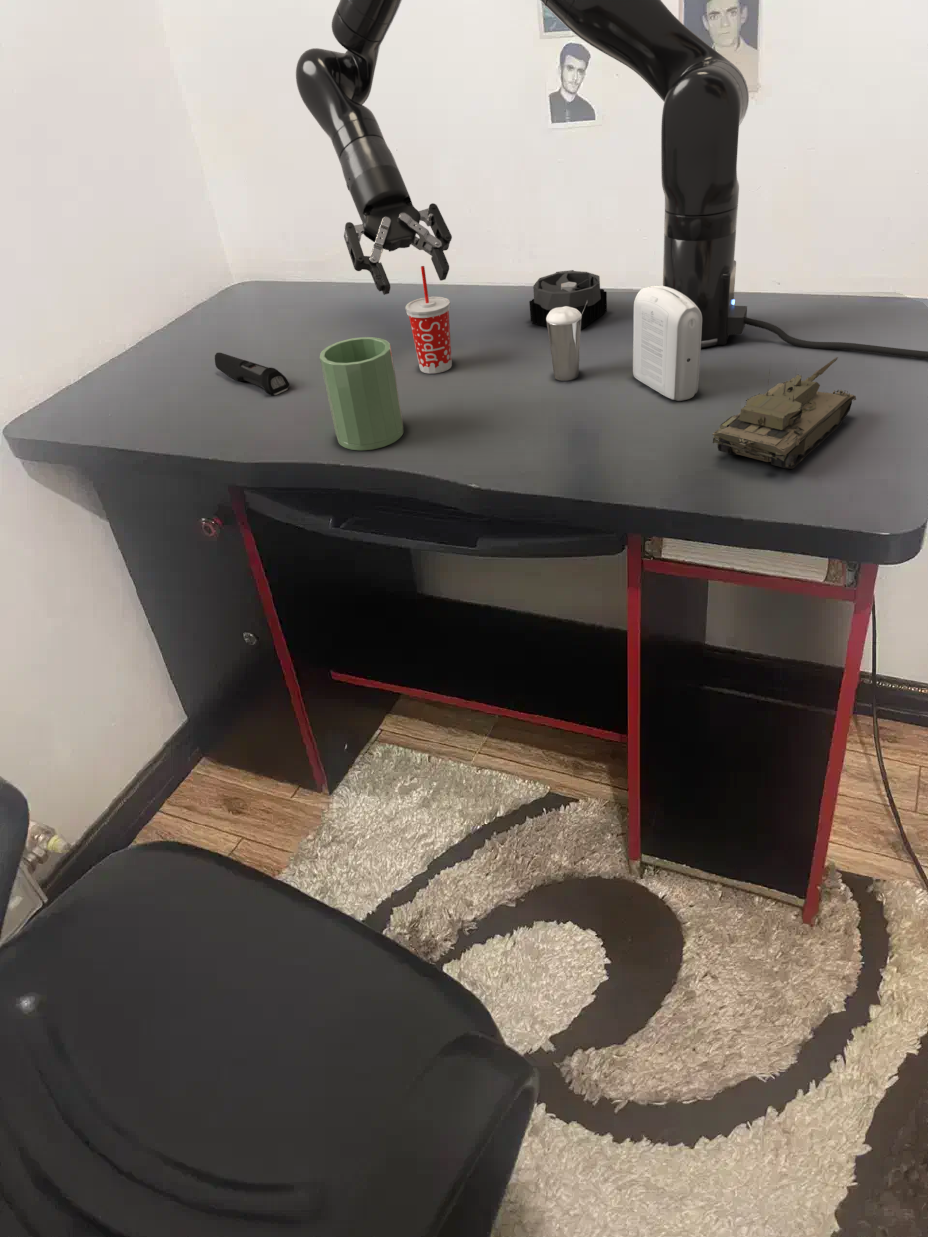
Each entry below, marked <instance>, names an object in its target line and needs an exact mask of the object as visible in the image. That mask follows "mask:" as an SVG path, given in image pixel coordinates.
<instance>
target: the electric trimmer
mask: <svg viewBox="0 0 928 1237" xmlns="http://www.w3.org/2000/svg"><path fill="white" fill-rule="evenodd" d="M214 365H215V367H216V369H218V370H219V371H220V372H222V373H223V374H225V375H227V376H228V377H230V378H231V379H232V380H235V381H238V382H243V381H244V382H245V381H246V382H249V383H250V384H253V385H256V386H258V387H260V388H263V390H264V391H265V393H266V394H268V395H270V396H272V395H274V396H277V395H279V394H281V393H284V392H286V391H288V390H289V388H290V382H289V380H288V378H287V377H286V376H285V375H284V374H283V373H282V372H280V371H279V370H278V369H276V368H275V367H269V366H264V365H262V364H258V363H255V362H252V361H249V360H246V359H242V358H239V357H235V356H233V355H229V354H227V353H223V352H216V353H215V354H214Z"/></svg>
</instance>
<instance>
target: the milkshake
mask: <svg viewBox="0 0 928 1237" xmlns="http://www.w3.org/2000/svg"><path fill="white" fill-rule="evenodd" d="M587 301H588V300H587ZM586 304H587V302H586ZM585 306H586V305H585ZM584 309H585V307H584ZM583 311H584V310H583ZM582 314H583V312H582ZM581 317H582V315H581V313H580V312H579V311H578V310H577V309H575V308H572V307H568V306H564V307H558V308H554V309H552V310H551V311H550V312H549V313H548V315H547V317H546V321H547V326H546V328H547V333H548V334H547V335H548V341H549V347H550V348H549V349H550V355H551V363H552V373H553V376H554V379H555V380H557V381H560V382H567V381H568V382H570V381H572V380H575V379H577V378H578V377H579V375H580V374H579V373H580V370H579V369H580V352H581V351H580V350H581V332H582V331H581V330H582V328H581Z"/></svg>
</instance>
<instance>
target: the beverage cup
mask: <svg viewBox="0 0 928 1237" xmlns="http://www.w3.org/2000/svg"><path fill="white" fill-rule="evenodd" d="M420 269H421V270H420V271H421V277H422V284H423V294H424V297H419V298H416V299H414V300H411V301H410V302H408V303H406V305H405V308H404V309H405V311H406V315H407V316H408V318H409V322H410V323H409V324H410V328H411V333H412V337H413V344H414V348H415V353H416V357H417V362H418V366H419V371H420V372H422V373H425V374H440V373H444V372H447V371H448V370H450V369H451V368H452V367H453V362H452V345H451V326H450V309H451V306H450V305H451V302H450V299H449V298H446V297H443V296H429V292H428V282H427V276H426V267H425V266H424V265H421V266H420Z"/></svg>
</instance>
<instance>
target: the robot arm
mask: <svg viewBox="0 0 928 1237" xmlns="http://www.w3.org/2000/svg"><path fill="white" fill-rule="evenodd" d="M402 1H403V0H339V2H338V4H337V5H336V9H335V11H334V14H333V16H332V20H331V32H332V35H333V36H334V37H333V38H334V39H335V40H336V41H337V42H338V43H339V45H340V46H341V47H342V48H344V49H345V50H346V51H345V52H339V51H334V50H329V49H324V48H318V47H317V48H316V47H315V48H313V47H312V48H310V49H307V50H305V51H304V52H303V53H302V54H301V55H300V57H299V58H298V60H297V63H296V67H295V82H296V87H297V90H298V93H299V96H300V98H301V101H302V102H303V104H304V105H305V107H306V108H307V110H308V111H309V113H310V115H311V116H312V117H313V118H314V119H315V121H316V122H317V124H318V125H319V127H320V128H321V129H322V130H323V132H324V133H325V134H326V135H327V137H328V138H329V139H330V141H331V143H332V144H331V145H332V147H333V149H334V152H335V154H336V157H337V159H338V161H339V164H340V167H341V171H342V175H343V178H344V181H345V184H346V188H347V190H348V191H349V193H350V196H351V198H352V201H353V203H354V205H355V208H356V212H357V214H358V215H359V219H360V221H361V224H354V223H353V222H351V221H348V222H346V223H345V225H344V232H343V238H344V241H345V245H346V248H347V251H348V254H349V257H350V261H351V264H352V266H353V269H354V271H356V272H362V270H364V271H368V272H369V273H370V276H371V277H372V280H373V282H374V285H375V287H376V290H377V291H378V292H382V294H383V295H384V296H385V295H388V294H390V291H391V283H390V281H389V278H388V275H387V273H386V271H385V268H384V266H383V263H382V261H381V262H380V260H381V258H382V254H383V251H384V250H386V251H388V252H389V253H390V252H394V251H396V250H398V249H407V248H410V246H413V247H414V248H416V249H417V250H418V251H423V252H425V253H427V254H428V255H430V256H431V258H430V260H431V263H432V265H433V267H434V270H435V272H436V274H437V277H438V279H439V281H446V279H447V277H448V274H449V271H450V264H449V262H448V259H447V256H446V254H445V252H444V251H448V250H449V249H450V244H451V241H452V239H453V235H452V234H451V231H450V229H449V227H448V226H447V223H446V221H445V218H444V217H443V215H442V212H441V211H440V209H439V206H438V204H436V203H430V204H429V206H428V208H425V209H422V210H418V209H417V208H415V206H414V205H413V202H412V198H411V196H410V193H409V190H408V189H407V186H406V184H405V181H404V179H403V177H402V174H401V171H400V168H399V167H398V164H397V162H396V159H395V157H394V155H393V153H392V151H391V150H390V148H389V146H388V144H387V143H386V142H387V141H386V140H385V137H384V135H383V133H382V130H381V128H380V125H379V123H378V120H377V118H376V116H375V114H374V113H373V112H372V111H371V109H369V108H368V107H367V106H365V105H364V104H365V103H366V102H367V100H368V99H369V97H370V94H371V91H372V87H373V82H374V78H375V72H376V67H377V64H378V63H377V62H378V58H379V52H380V48H381V45H382V43H383V41H384V40H385V37H386V36H387V33H388V31H389V29H390V27H391V25H392V23H393V21H394V20H395V17H396V15H397V13H398V12H399V9H400V6H401V4H402ZM539 1H540V2H541V3H542V4H543V5H544V6H545V7H546V8H547V9H548V10H549V11H550V12H551V13H552V14H553V15H554V16H555V17H556V18H557V19H558V20H559V21H560V22H561V23H562V24H563V25H564V26H565V27H566V28H567V29H569V31H571V32H572V33H573V34H574V35H575V36H577V37H578V38H579V39H580V40H582V41H584V42H586V43H587V45H590V46H591V47H593V48H594V49H596V50H597V51H600V52H601V53H603V54H605V55H606V56H608V57H610V58H612V59H614V60H616V61H617V62H618V63H619V62H620V63H621V64H623V65H624V66H626V67H627V68H629V69H630V70H632V71H633V72H634V73H636V74H637V75H638V76H639V77H640V78H641V79H642V80H643V81H645V83H646V84H647V85H648V86H649V87H650V88H651V89H652V90H653V91H654V92H655V93H656V94H657V96H658V97H659V98H660V99H661V100H662V101H663V106H662V111H661V112H662V113H661V124H660V125H661V127H660V130H661V131H660V137H661V138H660V169H661V170H660V172H661V173H660V174H661V186H662V187H661V188H662V191H663V195H664V216H663V217H664V222H663V224H664V225H663V258H662V260H663V263H662V286H666V287H669V288H672V289H675V290H677V291H679V292H681V293H682V294H684V295H685V296H687V297H688V298H689V299H690V300H691V301H693V302H694V303H695V304H696V306H697V307H698V308H699V310H700V311H701V314H702V334H701V349H702V348H709V347H713V346H725V345H726V344H727V343H728V340H729V338H730V336H731V335H736V336H737V335H743V332H744V330H745V326H746V325H747V326H751V327H756V328H760V329H763V330H767V331H769V332H771V333H773V334H775V335H777V336H778V337H779V338H780V339H781V340H782V341H784V342H785V343H787V344H790V345H793V346H796V347H800V348H806V349H814V350H815V349H818V350H846V351H847V350H848V351H856V352H863V353H873V354H881V355H890V356H898V357H907V358H915V359H916V358H917V359H926V360H928V351H926V350H917V349H907V348H899V347H892V346H891V347H889V346H881V345H872V344H863V343H855V342H843V341H842V342H841V341H812V340H804V339H800V338H796V337H794V336H791V335H789V334H788V333H786V332H785V330H783V329H782V328H780V327H779V326H777V325H774V324H772V323H769V322H766V321H763V320H759V319H755V318H751V317H747V314H748V305H735V302H736V299H735V286H736V270H737V260H736V259H735V254H736V253H735V252H736V241H737V240H736V239H737V238H736V237H737V225H738V209H739V196H740V183H739V180H738V171H737V170H738V148H739V133H740V126H741V125H742V123H743V121H744V119H745V117H746V114H747V113H748V108H749V102H750V93H749V92H750V91H749V87H748V84H747V80H746V79H745V76H744V75H743V73H742V71H741V70H740V69H739V68H738V67H737V66H736V65H735V64H734V63H732V62H731V61H730V60H729V59H727V58H726V57H724V55H722V54H721V53H719V52H718V51H717V50H715V49H714V48H713V47H712V46H710V45H709V44H708V43H707V42H705V41H704V40H703V39H702V38H700V37H699V36H698V35H697V34H695V33H694V32H693V31H692V30H691V29H690V28H688V27H687V26H686V25H684V24H683V22H682V21H680V20H679V19H678V18H677V17H676V16H675V15H674V14H673V13H672V11H671V10H670V9H669V8H668V7H667V6H666V4H665V3H664V2H663V1H662V0H539ZM420 222H424V223H425V225H426V227H430V229H431V231H432V233H433V235H432V234H431V233H430V231H429V229H428V228H426V227H425V226H423V225H422V224H420ZM362 235H363V236H364V237H366V238H367V239H368V240H370V241H371V242H373V246H372V250H371V252H370V255H365V254H364V251H363V249H362V245H361V240H362Z"/></svg>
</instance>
